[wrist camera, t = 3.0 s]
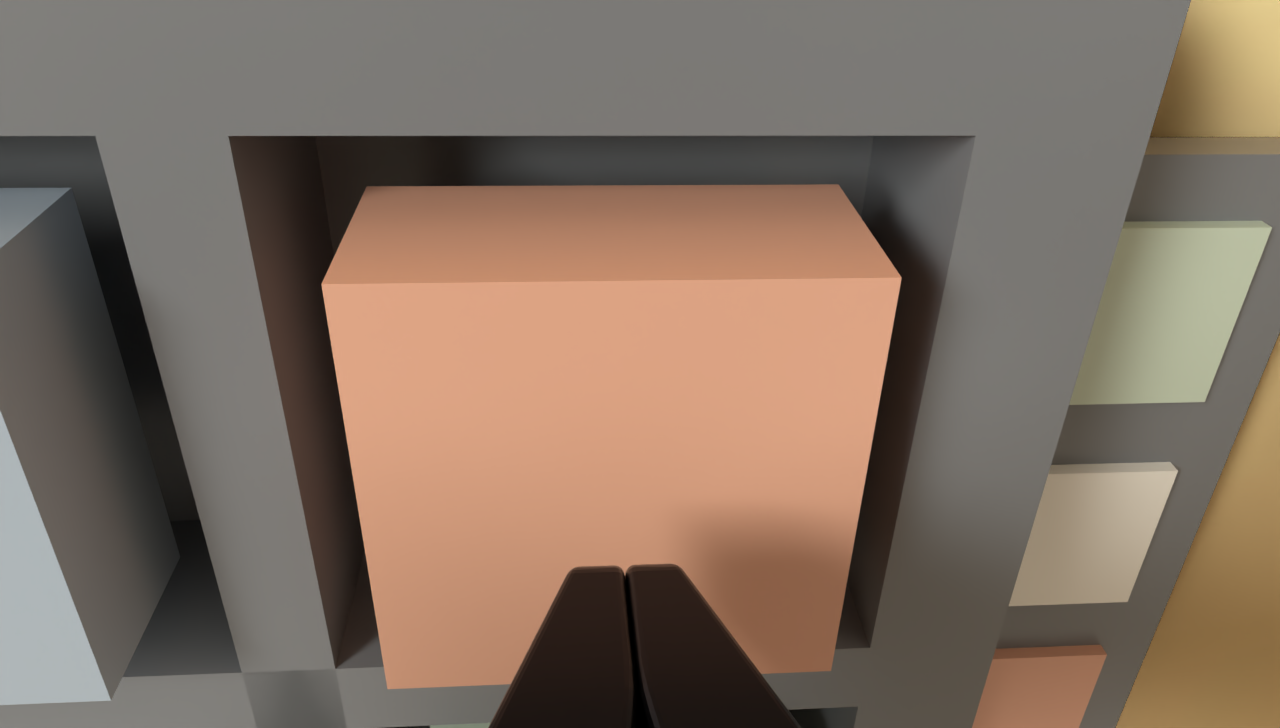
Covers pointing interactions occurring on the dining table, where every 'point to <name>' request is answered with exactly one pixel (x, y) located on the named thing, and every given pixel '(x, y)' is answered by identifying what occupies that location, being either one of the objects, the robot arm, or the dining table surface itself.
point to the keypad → (674, 155)
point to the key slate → (69, 469)
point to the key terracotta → (606, 407)
